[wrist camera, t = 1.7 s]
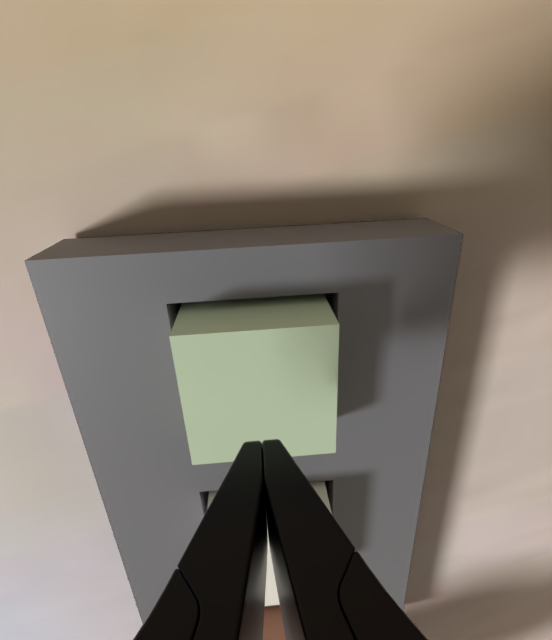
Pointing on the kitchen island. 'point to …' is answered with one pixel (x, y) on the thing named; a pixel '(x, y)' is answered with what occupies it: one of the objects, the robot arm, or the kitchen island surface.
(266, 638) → the terracotta button
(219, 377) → the sage button
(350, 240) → the button panel
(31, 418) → the kitchen island surface
